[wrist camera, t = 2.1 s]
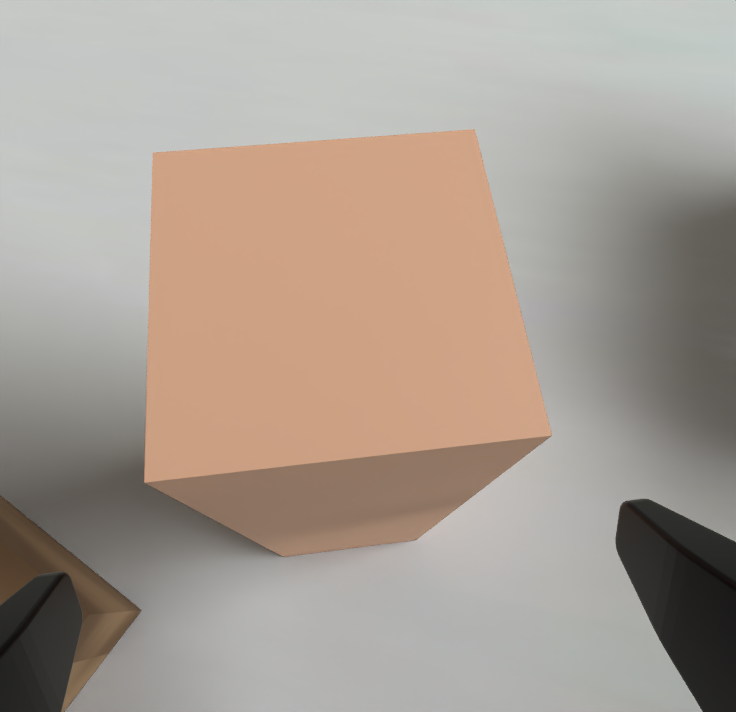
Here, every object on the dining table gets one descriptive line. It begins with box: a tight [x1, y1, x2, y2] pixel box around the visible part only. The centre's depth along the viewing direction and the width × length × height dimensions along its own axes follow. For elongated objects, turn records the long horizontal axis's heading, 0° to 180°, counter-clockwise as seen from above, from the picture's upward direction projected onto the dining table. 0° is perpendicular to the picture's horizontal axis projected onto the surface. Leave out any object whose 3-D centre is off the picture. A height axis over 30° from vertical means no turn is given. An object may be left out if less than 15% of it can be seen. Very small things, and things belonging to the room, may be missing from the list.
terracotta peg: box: [144, 129, 552, 557], centre depth 14 cm, size 4×4×14 cm
